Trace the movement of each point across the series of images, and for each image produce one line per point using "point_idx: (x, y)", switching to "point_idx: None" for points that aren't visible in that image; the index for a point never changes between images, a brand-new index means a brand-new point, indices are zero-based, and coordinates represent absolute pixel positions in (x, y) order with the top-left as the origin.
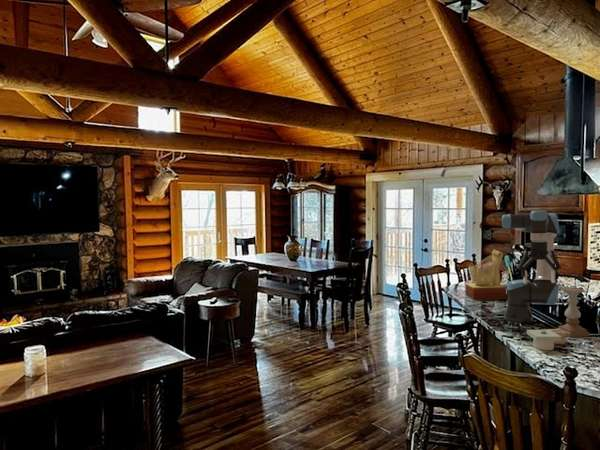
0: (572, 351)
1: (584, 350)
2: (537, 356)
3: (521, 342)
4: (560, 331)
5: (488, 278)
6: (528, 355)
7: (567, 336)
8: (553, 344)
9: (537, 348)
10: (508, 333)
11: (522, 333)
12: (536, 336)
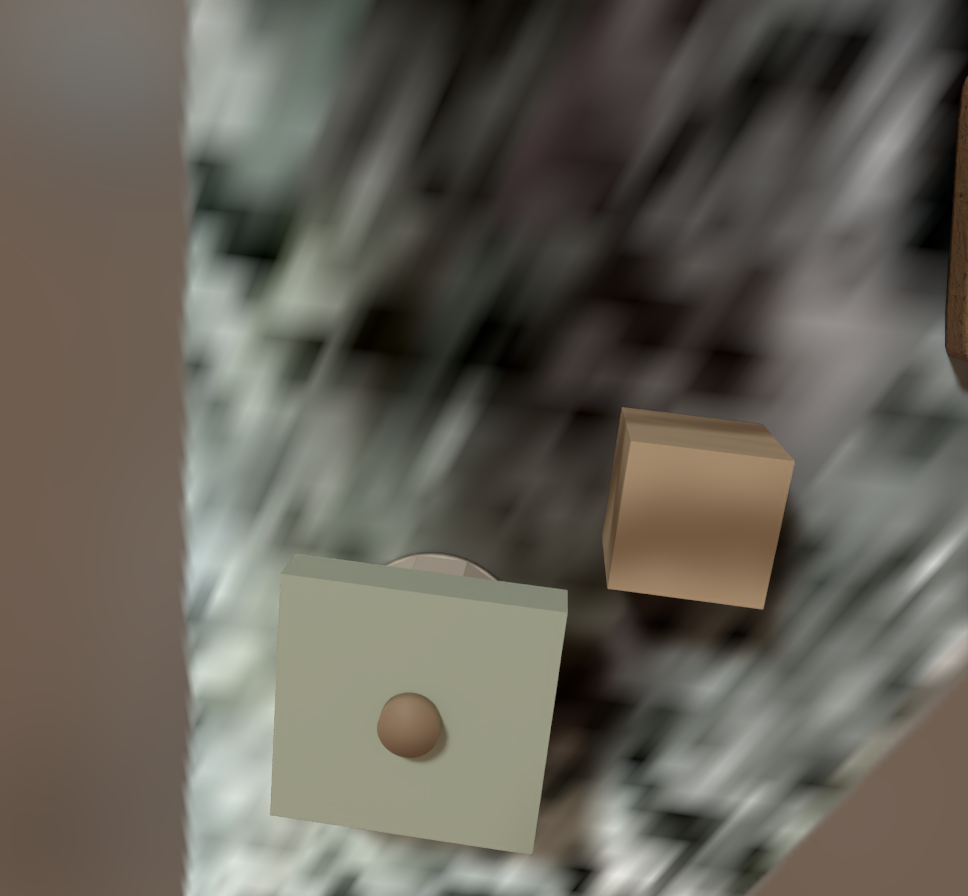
0: (641, 767)
1: (773, 759)
2: (263, 830)
3: (296, 457)
4: (729, 562)
5: None
6: (199, 799)
7: (945, 314)
8: None
9: None
10: (293, 92)
11: (469, 112)
12: (274, 811)
